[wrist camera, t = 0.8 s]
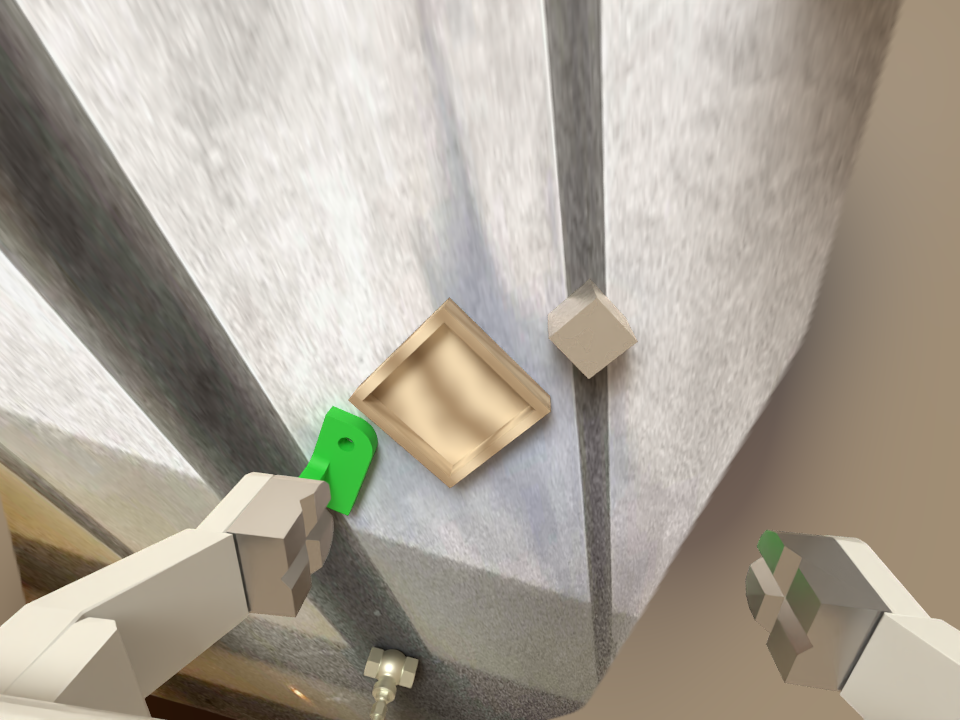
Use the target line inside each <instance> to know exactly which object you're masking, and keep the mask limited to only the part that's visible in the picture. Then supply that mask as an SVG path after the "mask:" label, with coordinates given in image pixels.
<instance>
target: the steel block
mask: <svg viewBox="0 0 960 720" xmlns="http://www.w3.org/2000/svg"><path fill="white" fill-rule="evenodd" d="M548 336H549V339H550V340H551V341H552V342H553V343H554V344H555V345H556V346H557V347H558V348H559V349H560V350H561V351H562V352H563V353H564V354H565V355H566V356H567V357H568V358H569V359H570V360H571V361H572V362H573V364H574V365H575V366H576V367H577V368H578V369H579V370H580V371H581V372H582V373H583V374H584V375H585V376H586V377H587V378H588V379H590V378H591V377H592V376H594V375H595V374H596V373H597V372H599V371H600V370H601V369H603V368H604V367H605V366H607V365H608V364H609V363H610V362H612V361H613V360H614V359H616V358H617V357H618V356H620V355H621V354H622V353H623V352H625V351H626V350H627V349H629V348H630V347H631V346H633V345H634V344H635V343H637V342H638V341H637V339H636V337H635V335H634V333H633V331H632V329H631V327H630V325H629V323H628V321H627V319H626V317H625V316H624V315H623V314H622V313H621V312H620V311H619V310H618V309H617V308H616V306H615V305H614V304H613V303H612V302H611V301H610V300H609V299H608V298H607V297H606V296H605V295H604V293H603V292H602V291H601V290H600V289H599V288H598V287H597V286H596V285H595V284H594V283H593V282H592V280H591V279H589V280H587V281H586V282H585V283H584V284H583V285H582V286H580V287H579V288H578V289H577V290H576V291H575V292H573V293H572V294H571V295H570V296H569V297H568V298H567V299H565V300H564V301H563V302H562V303H561V304H560V305H558V306H557V307H556V308H555V309H554V310H553V311H552V312H550V313H549V314H548Z"/></svg>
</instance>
